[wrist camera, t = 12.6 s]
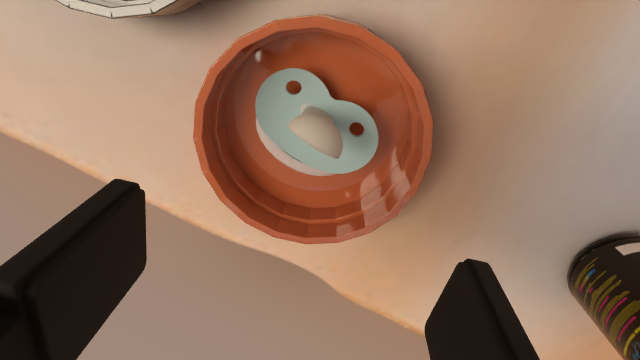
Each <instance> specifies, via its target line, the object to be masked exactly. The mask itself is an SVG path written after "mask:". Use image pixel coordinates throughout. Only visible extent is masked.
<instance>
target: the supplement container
mask: <svg viewBox="0 0 640 360" xmlns="http://www.w3.org/2000/svg"><path fill="white" fill-rule="evenodd" d="M567 282H568V287H569V290H570V292H571V294H572V295H573V296H574V298H575V299H576V300H577V301H578V303H579V304H580V305H581V307H582V308H583V309H584V310H585V312H586V313H587V314H588V315H589V317H590V318H591V319H592V320H593V322H594V323H595V324H596V326H597V327H598V328H599V329H600V331H601V332H602V333H603V334H604V336H605V337H606V338H607V339H608V341H609V342H610V343H611V345H612V346H613V347H614V348H615V350H616V351H617V352H618V353H619V355H620V356H621V357H622V358H623V360H640V236H639V235H618V236H612V237H608V238H605V239H602V240H600V241H597V242H595V243H593V244H591V245H590V246H588V247H587V248H585V249H584V250H583V251H582V252H580V253H579V254H578V255H577V257H576V258H575V259H574V261H573V262H572V264H571V266H570V268H569V271H568V276H567Z"/></svg>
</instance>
